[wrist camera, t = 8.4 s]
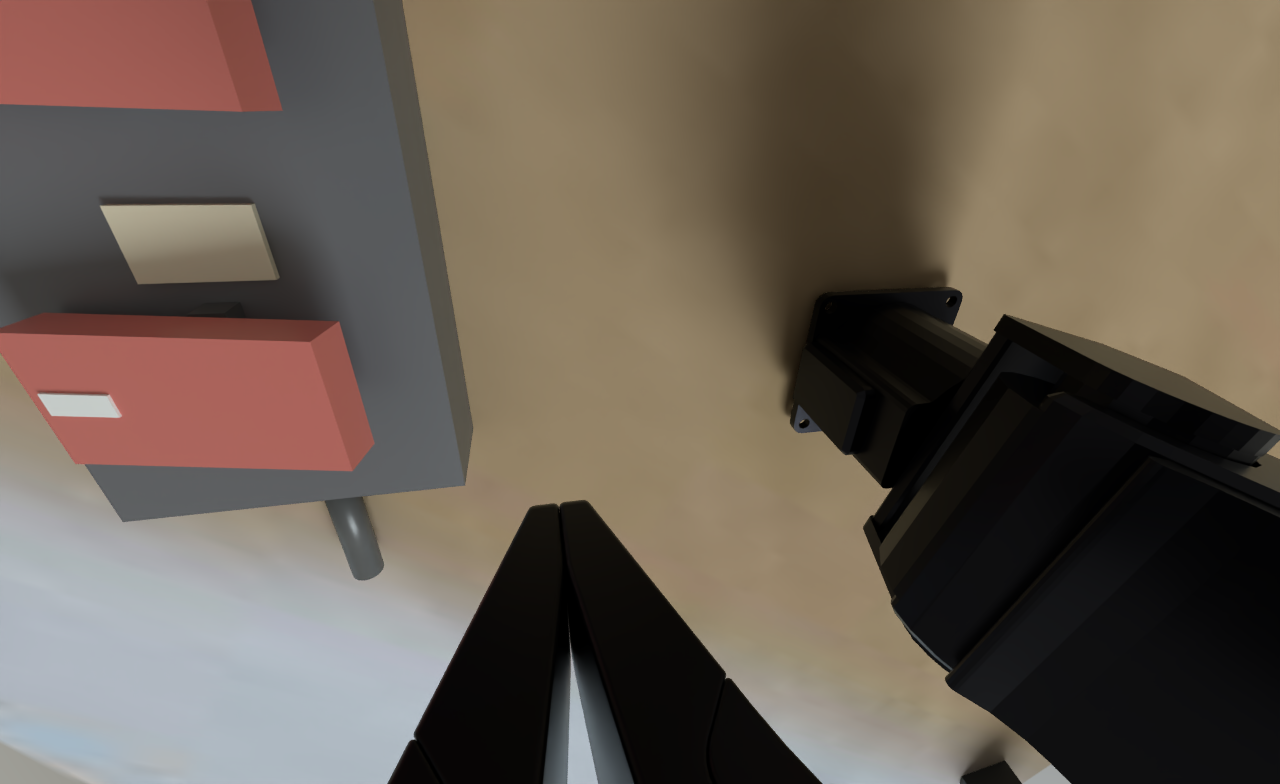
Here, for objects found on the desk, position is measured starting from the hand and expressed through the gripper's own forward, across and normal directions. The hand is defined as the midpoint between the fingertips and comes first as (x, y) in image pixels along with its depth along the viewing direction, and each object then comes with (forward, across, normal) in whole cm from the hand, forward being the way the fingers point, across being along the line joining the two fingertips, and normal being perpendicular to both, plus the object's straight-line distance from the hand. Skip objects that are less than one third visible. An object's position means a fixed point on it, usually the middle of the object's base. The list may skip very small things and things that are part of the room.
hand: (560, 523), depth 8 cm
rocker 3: (+8, +8, +1) cm, 12 cm away
